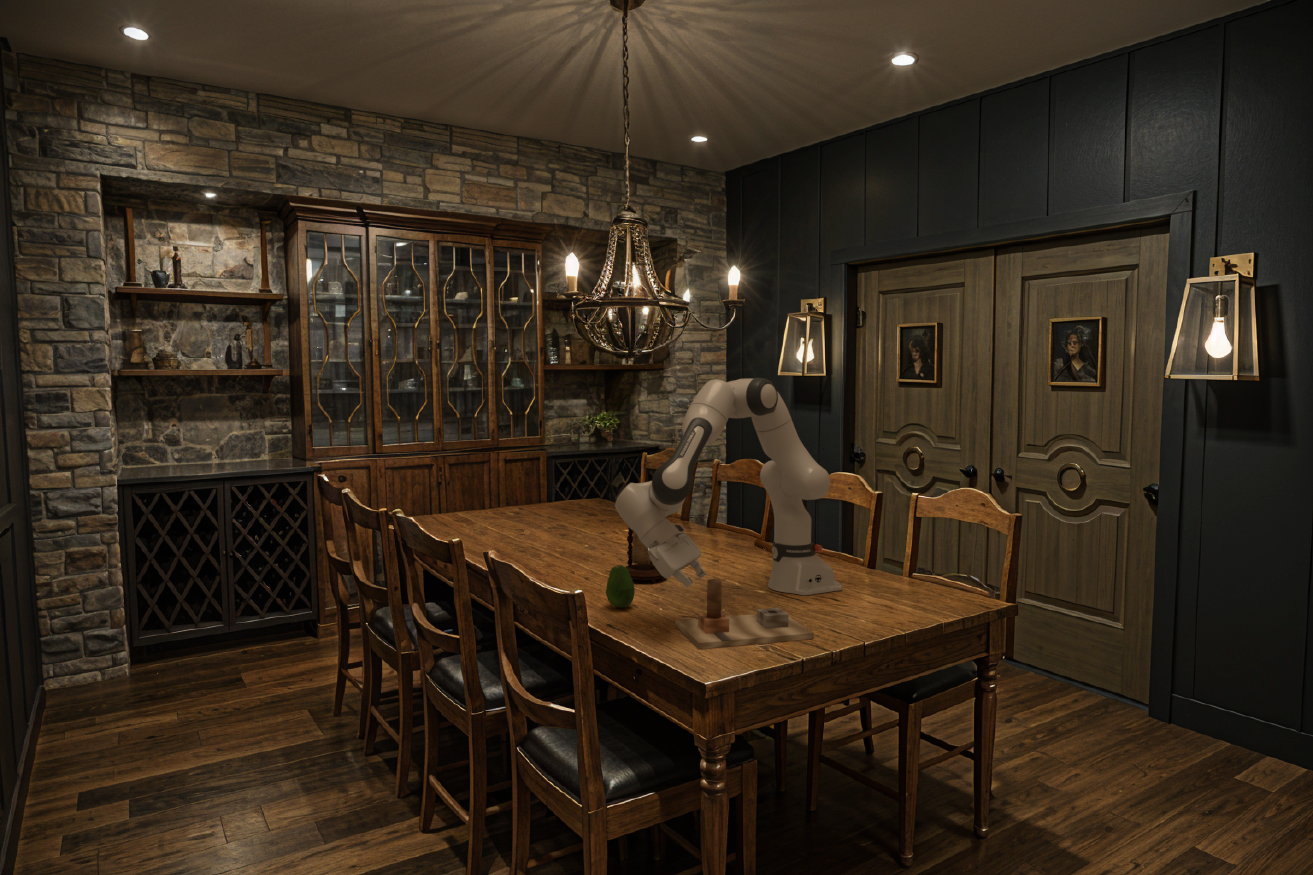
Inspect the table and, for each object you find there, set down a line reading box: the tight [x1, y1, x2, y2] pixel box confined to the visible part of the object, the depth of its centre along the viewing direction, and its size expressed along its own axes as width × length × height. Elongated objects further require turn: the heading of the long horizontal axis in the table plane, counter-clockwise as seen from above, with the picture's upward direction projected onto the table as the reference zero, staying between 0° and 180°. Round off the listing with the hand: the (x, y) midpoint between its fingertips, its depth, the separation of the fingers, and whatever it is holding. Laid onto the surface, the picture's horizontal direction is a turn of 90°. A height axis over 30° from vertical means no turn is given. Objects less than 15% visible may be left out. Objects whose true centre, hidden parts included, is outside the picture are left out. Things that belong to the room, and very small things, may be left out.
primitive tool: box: [753, 538, 773, 554], centre depth 295 cm, size 19×6×4 cm, turn 29°
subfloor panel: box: [675, 607, 815, 650], centre depth 201 cm, size 30×18×5 cm, turn 107°
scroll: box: [625, 527, 665, 585], centre depth 252 cm, size 15×15×20 cm
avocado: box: [605, 564, 636, 609], centre depth 220 cm, size 8×8×12 cm
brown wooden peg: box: [706, 578, 723, 619], centre depth 198 cm, size 4×4×12 cm
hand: (696, 580), depth 200 cm, fingers open, 8 cm apart
